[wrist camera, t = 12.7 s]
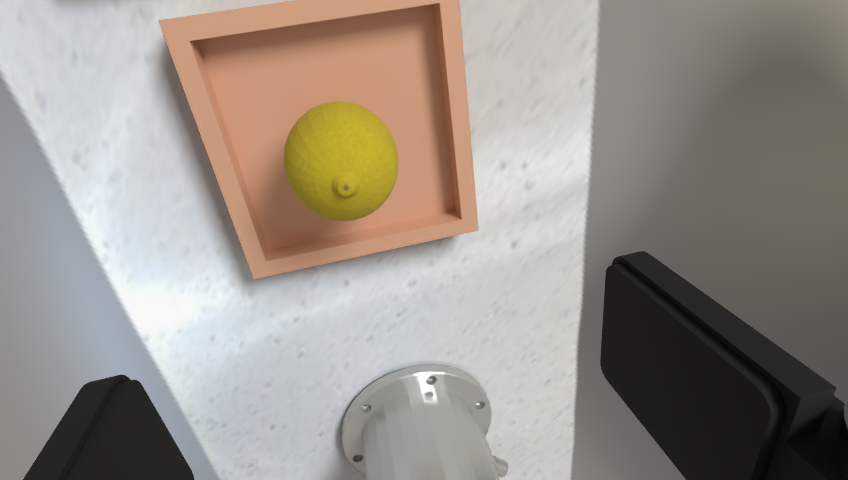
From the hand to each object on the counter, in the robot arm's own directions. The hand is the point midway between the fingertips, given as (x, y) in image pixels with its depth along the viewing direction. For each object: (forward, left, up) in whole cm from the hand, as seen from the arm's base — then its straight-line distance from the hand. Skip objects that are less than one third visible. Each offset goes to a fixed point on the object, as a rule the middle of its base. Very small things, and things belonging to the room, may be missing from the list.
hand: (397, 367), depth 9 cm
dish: (0, 0, -20) cm, 20 cm away
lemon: (0, 0, -19) cm, 19 cm away
